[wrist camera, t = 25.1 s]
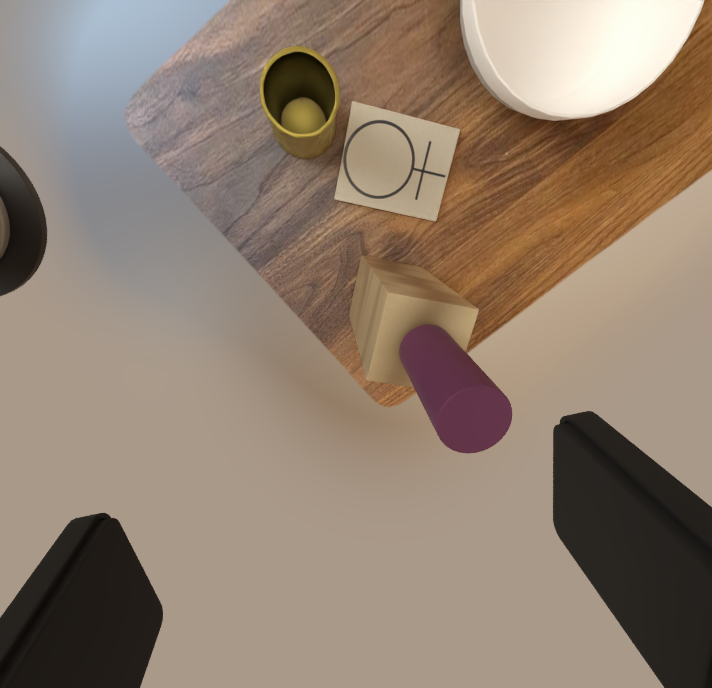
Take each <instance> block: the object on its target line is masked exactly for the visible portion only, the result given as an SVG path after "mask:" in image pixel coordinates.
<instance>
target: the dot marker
mask: <svg viewBox="0 0 712 688" xmlns="http://www.w3.org/2000/svg"><path fill="white" fill-rule="evenodd" d="M399 356H400V360H401V363H402V365H403V367H404V368H405V370H406V372H407V374H408V376H409V378H410V380H411V382H412V384H413V386H414V388H415V390H416V392H417V394H418V396H419V398H420V400H421V402H422V404H423V406H424V408H425V410H426V412H427V414H428V416H429V418H430V420H431V422H432V424H433V426H434V428H435V430H436V432H437V434H438V436H439V438H440V440H441V441H442V442H443V443H444V444H445V445H446V446H447V447H449V448H450V449H452V450H454V451H457V452H461V453H476V452H480V451H483V450H486V449H488V448H490V447H492V446H493V445H495V444H496V443H497V442H498V441H500V440H501V439H502V437H503V436H504V435H505V434H506V432H507V431H508V429H509V426H510V424H511V420H512V408H511V404H510V402H509V400H508V398H507V397H506V396H505V395H504V393H503V392H502V391H501V390H500V389H499V388H498V387H497V386H496V385H495V384H494V383H493V381H492V380H491V379H490V378H489V377H488V376H487V375H486V374H485V373H484V372H483V371H482V370H481V368H480V367H479V366H478V365H477V364H476V363H475V362H474V361H473V360H472V359H471V357H470V356H469V355H468V354H467V353H466V352H465V351H464V350H463V349H462V348H461V347H460V345H459V344H458V343H457V342H456V341H455V340H454V339H453V338H452V337H451V336H450V335H449V334H448V332H447V331H446V330H444V329H443V328H441V327H439V326H437V325H431V324H426V325H421V326H418V327H416V328H414V329H412V330H411V331H409V332H408V333H407V334H406V336H405V337H404V338H403V340H402V342H401V345H400V349H399Z"/></svg>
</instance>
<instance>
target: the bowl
mask: <svg viewBox="0 0 712 688" xmlns="http://www.w3.org/2000/svg"><path fill="white" fill-rule="evenodd" d="M703 3H704V0H460V24H461V30H462V36H463V42H464V46H465V49H466V52H467V55H468V58H469V61H470V64H471V66H472V68H473V70H474V71H475V73H476V75H477V77H478V78H479V80H480V82H481V84H482V85H483V86H484V87H485V88H486V89H487V90H488V91H489V92H490V94H491V95H492V96H493V97H494V98H495V99H497V100H498V101H499V102H501V103H502V104H504V105H505V106H507V107H508V108H509V109H512V110H514V111H517V112H520V113H522V114H525V115H528V116H531V117H534V118H538V119H545V120H552V121H558V120H569V119H579V118H588V117H593V116H596V115H599V114H602V113H606V112H609V111H612V110H614V109H616V108H617V107H619V106H621V105H623V104H625V103H626V102H628V101H630V100H632V99H634V98H635V97H636V96H637V95H639V94H640V93H641V92H642V91H643V90H645V89H646V88H647V87H648V86H650V85H651V84H652V83H653V82H654V81H655V80H656V79H657V78H658V77H659V76H660V74H661V73H662V72H663V71H664V70H665V69H666V68H667V67H668V66H669V64H670V63H671V62H672V61H673V60H674V58H675V57H676V55H677V54H678V52H679V51H680V49H681V48H682V46H683V45H684V43H685V42H686V40H687V38H688V37H689V35H690V33H691V31H692V28H693V26H694V24H695V22H696V20H697V18H698V16H699V14H700V12H701V9H702V6H703Z"/></svg>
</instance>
